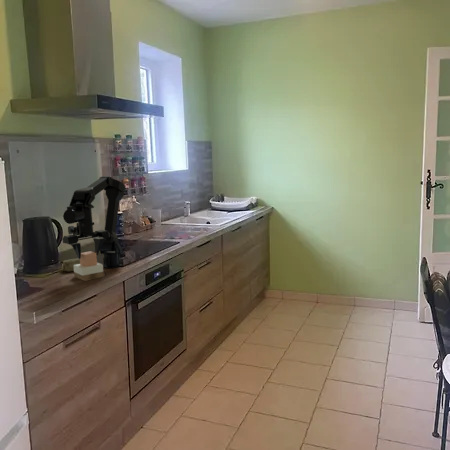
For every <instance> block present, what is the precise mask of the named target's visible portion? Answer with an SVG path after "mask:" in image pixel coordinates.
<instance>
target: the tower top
mask: <svg viewBox="0 0 450 450" xmlns="http://www.w3.org/2000/svg"><path fill="white" fill-rule="evenodd" d="M103 265H104V263H103V264H102V263H100V262H97V265H92V266H87V267H85V266H82V265H80V264H76V265H73V266H74V271H73V273H74V272H75V273H78V274H80V275H82V276H83V275H88V274H93V273H98V272H103V271H104V267H103Z"/></svg>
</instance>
